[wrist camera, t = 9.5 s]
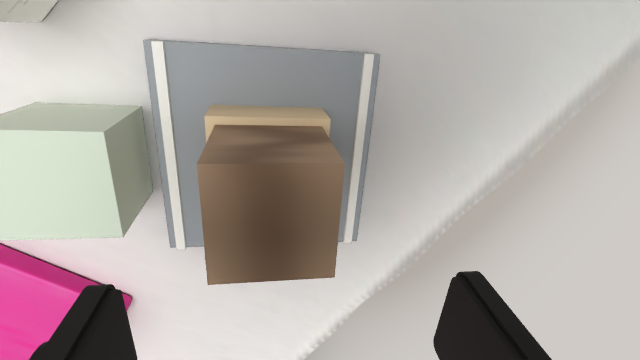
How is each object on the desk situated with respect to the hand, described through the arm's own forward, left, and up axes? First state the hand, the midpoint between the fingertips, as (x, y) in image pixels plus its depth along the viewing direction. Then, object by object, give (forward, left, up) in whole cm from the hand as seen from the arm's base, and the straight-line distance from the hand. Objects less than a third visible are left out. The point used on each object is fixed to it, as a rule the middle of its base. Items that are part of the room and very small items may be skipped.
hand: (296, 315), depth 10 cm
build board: (+1, +1, -16) cm, 16 cm away
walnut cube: (0, +1, -12) cm, 12 cm away
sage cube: (+12, +1, -16) cm, 20 cm away
